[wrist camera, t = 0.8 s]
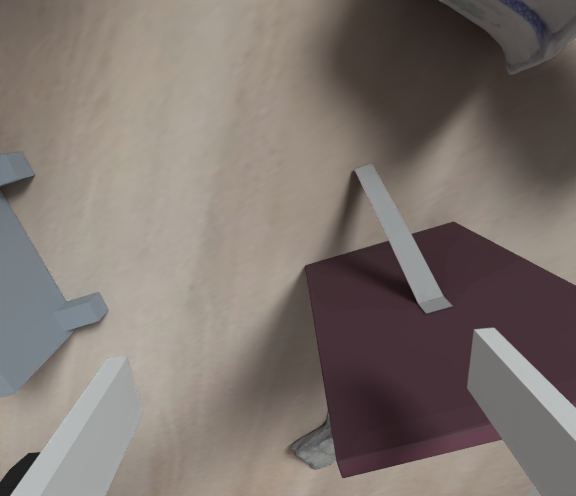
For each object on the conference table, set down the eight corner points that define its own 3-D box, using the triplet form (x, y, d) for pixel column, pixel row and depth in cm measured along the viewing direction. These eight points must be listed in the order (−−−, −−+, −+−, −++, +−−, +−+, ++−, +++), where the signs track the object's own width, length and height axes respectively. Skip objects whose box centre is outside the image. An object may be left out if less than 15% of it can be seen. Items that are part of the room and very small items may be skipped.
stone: (381, 414, 48) (391, 440, 44) (318, 468, 51) (322, 497, 47) (347, 388, 47) (354, 412, 43) (284, 445, 49) (284, 473, 45)
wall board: (-33, 160, 35) (-162, 178, 25) (17, 143, 35) (-93, 154, 25) (68, 328, 42) (-1, 397, 32) (111, 316, 42) (56, 381, 31)
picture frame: (307, 274, 40) (347, 492, 17) (281, 191, 37) (284, 317, 14) (455, 231, 39) (722, 402, 16) (441, 140, 36) (751, 184, 12)
